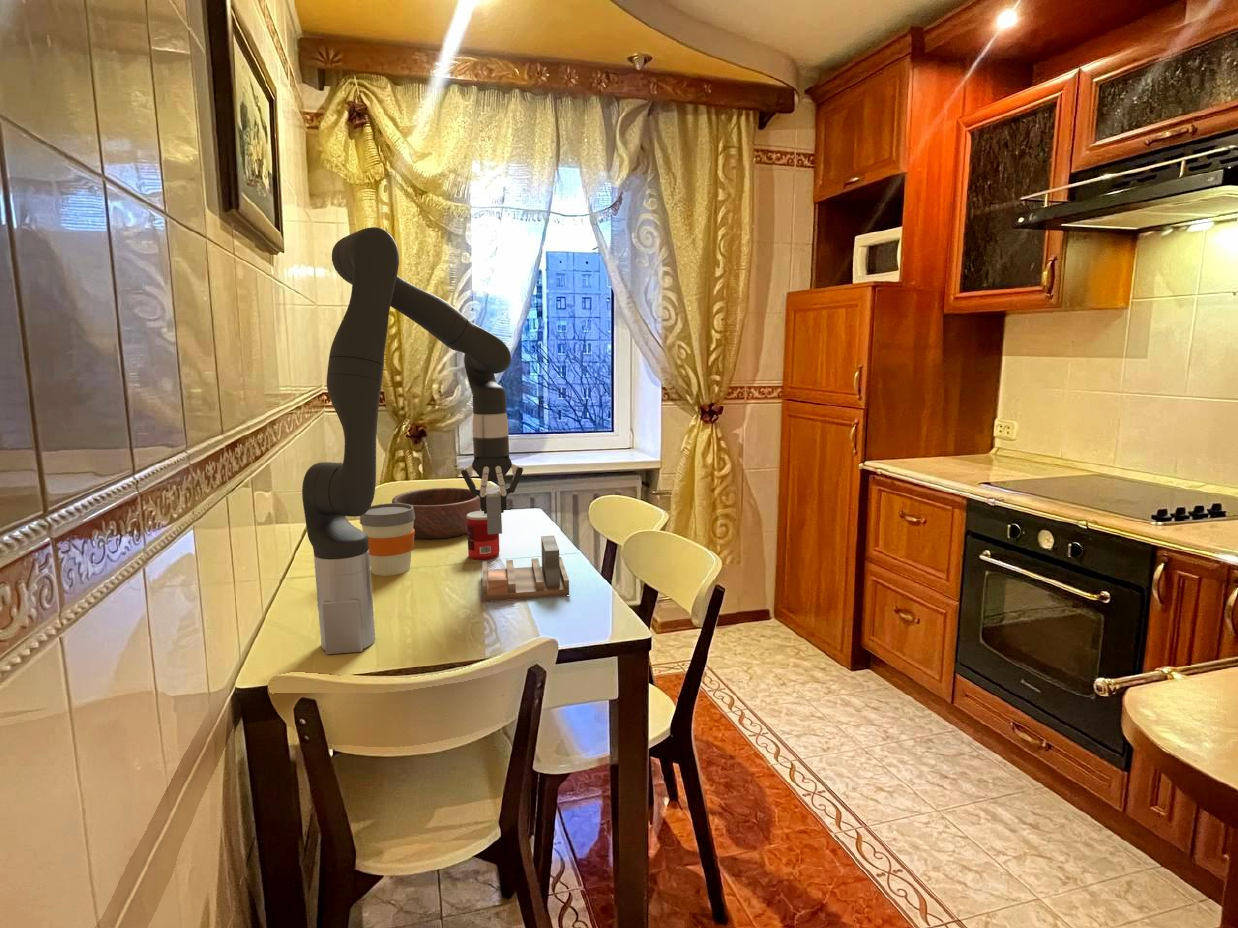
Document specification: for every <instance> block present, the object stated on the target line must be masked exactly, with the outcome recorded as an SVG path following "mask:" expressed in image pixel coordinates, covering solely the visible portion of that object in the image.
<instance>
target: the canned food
mask: <svg viewBox="0 0 1238 928" xmlns="http://www.w3.org/2000/svg"><path fill="white" fill-rule="evenodd" d="M466 535H467V553H468V556H469V558H470V559H471V560H476V561H487V560H491V559H494V558H497V557H498V556H499V554H500V551H501V550H500V534H488V529H487V514H484V511H481V510H480V511H475V512H471V513H468V514H467V533H466Z"/></svg>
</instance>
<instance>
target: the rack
mask: <svg viewBox="0 0 1238 928" xmlns="http://www.w3.org/2000/svg"><path fill="white" fill-rule="evenodd" d="M540 537H541V538H540V539H541V541H540V542H541V548H540V549H541V566H540V560H539V558H531V566H525V567H514V559H506V561H505V562H506V566H505V567H506V568H492V569H488V561H482V577H481V578H482V579H481V584H482V586H481V587H482V588H481V589H482V590H481V591H482V603H487V602H500V601H501V602H502V601H514V600H527V599H529V600H530V599H543V598H544V597H545V598H555V597H557V598H558V596H559V597H568V596H567V595H569V596H570V579H569V576H568V573H567V571H566V568H565V565H564V561H563V559H562V557H561V556H560V549H559V546H558V542H557V539H556V537H555V535H541V536H540Z"/></svg>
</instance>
